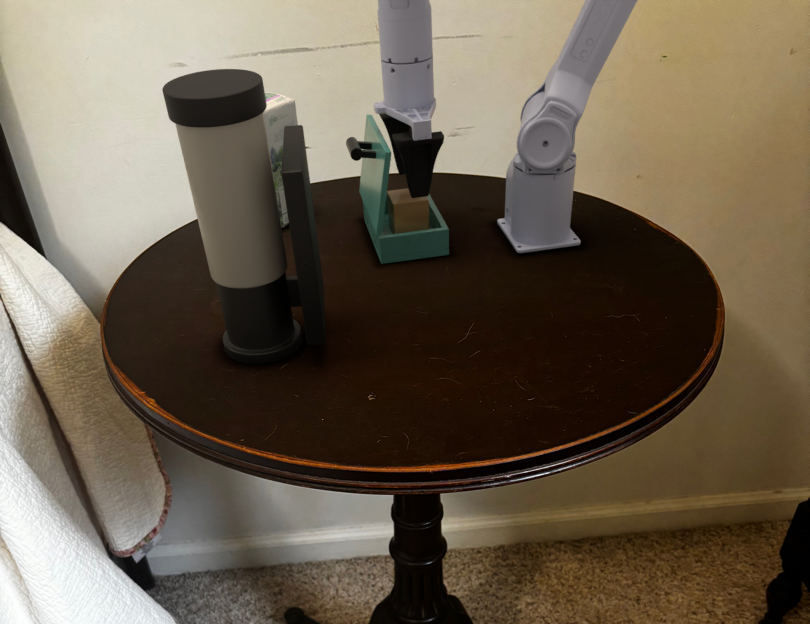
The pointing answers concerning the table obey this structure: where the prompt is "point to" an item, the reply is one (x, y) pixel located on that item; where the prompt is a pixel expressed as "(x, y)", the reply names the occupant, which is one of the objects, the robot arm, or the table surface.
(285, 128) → the light fixture
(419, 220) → the block
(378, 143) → the lid
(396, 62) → the robot arm
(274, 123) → the syrup box
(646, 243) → the table surface
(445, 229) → the teal box base
